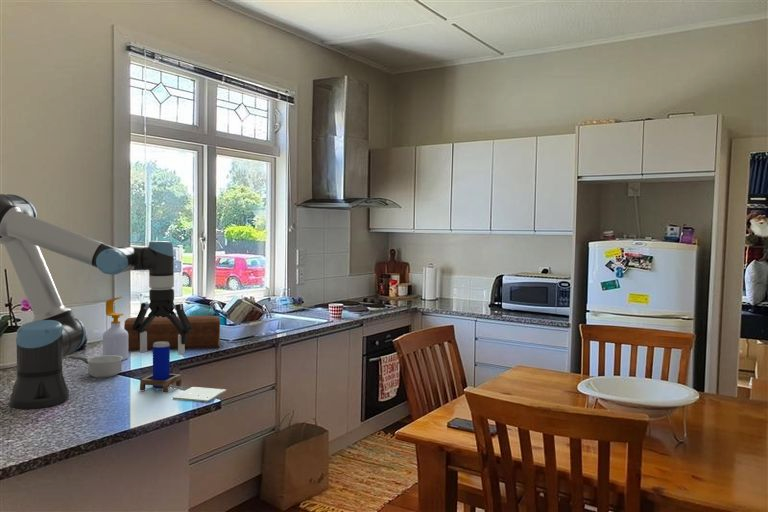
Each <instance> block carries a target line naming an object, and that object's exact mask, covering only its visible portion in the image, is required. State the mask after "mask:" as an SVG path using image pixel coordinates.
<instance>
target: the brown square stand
mask: <svg viewBox="0 0 768 512" xmlns="http://www.w3.org/2000/svg"><path fill="white" fill-rule="evenodd" d="M139 381H140V384H139V391H140V390H144V391H146V390H145V389H146V387H147V386H152V387H153V386H163V390H162V393H163V392H167V393H169V387H168V385H169V386H170V385H172V384H175V385H176V387H181V386H182V374H179V373H178V374H177V373H170V378H169V379H167V380H165V381H164V380H153V373H152V374H150V375H148V376H146V377H143V378H141V379H140V380H139Z"/></svg>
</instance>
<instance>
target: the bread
mask: <svg viewBox="0 0 768 512" xmlns="http://www.w3.org/2000/svg"><path fill="white" fill-rule="evenodd" d="M186 316H187V318H188V321H189V323H190V325H191V327H192V329H193V331H192V332H189V333H187V343H186V344H185V350H187V349H188V350H189V349H209V348H210V349H212V348H219V347H220V346H221V317H220V316H219V315H186ZM147 317H148V316H145V317H144V319H143V322H144V320H145V319H146V318H147ZM176 317H177V318H178V319H179V317H178V315H176ZM136 318H137V316H136V317H129V318H126V319H125V320H124V328H123V329H125V330H126V331H127V332H128V351H140V342H138V332H137V331H135V330H132V327H133V325H134V322H135V320H136ZM179 320H180V319H179ZM143 322H142V323H143ZM180 322H181V321H180ZM144 332H147V351H153V344H154V343H155V342H159V341H166V342H169V345H170V350H178V335H179V334H180V332H179V331H178V330H177V329H176V327H175V326H174V325H173V323H172V322H171V321H170V319H168V318H167V317H155V318H154V319H153V320H152V322H151V323H150V324H149V325H148V327H147V328H146V329H145V331H144Z"/></svg>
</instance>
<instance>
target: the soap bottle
mask: <svg viewBox="0 0 768 512" xmlns="http://www.w3.org/2000/svg"><path fill="white" fill-rule="evenodd" d="M122 298H123V297H122V296H120V297H119V296H118V297H114V298H111V299H107V300H106V302H105V314H106V316H107V317H108V316H109V317H111V318H112V319H113V320H111V321H110V327H109V328H108V329H106V330H105V331H104V332H103V334H102V356H109V355H113V356H121V357H123V359H122V361H125V360H128V358H129V350H128V332H127V331H126V330H125V329H124V328H123V327H121V321H120V320H119V318H120V317H122V316H123V315H124V313H116V312H115V311H114V307H115V306H114V305H115V304H114V303H115V301H116V300H118V299H122Z"/></svg>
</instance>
